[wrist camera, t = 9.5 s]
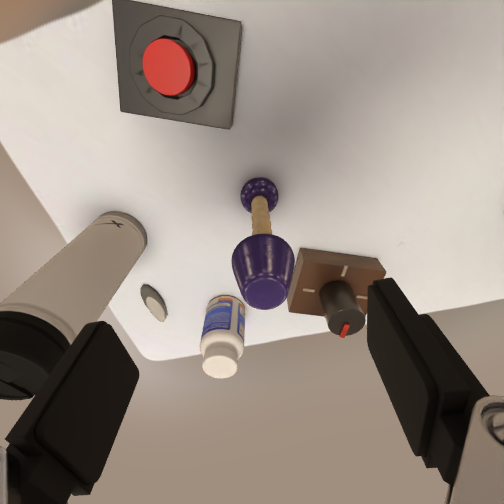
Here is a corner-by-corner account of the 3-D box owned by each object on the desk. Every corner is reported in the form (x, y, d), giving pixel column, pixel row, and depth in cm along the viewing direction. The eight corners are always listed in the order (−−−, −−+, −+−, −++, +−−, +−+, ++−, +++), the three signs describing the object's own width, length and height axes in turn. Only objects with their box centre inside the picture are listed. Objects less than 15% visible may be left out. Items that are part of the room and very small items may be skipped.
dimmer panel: (377, 257, 36) (387, 272, 33) (356, 306, 40) (363, 322, 37) (300, 247, 35) (304, 260, 33) (286, 297, 40) (288, 313, 37)
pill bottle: (200, 313, 41) (186, 372, 33) (219, 288, 39) (209, 345, 30) (233, 328, 43) (227, 388, 34) (252, 305, 40) (252, 363, 32)
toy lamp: (289, 199, 32) (316, 294, 18) (259, 225, 34) (262, 331, 20) (260, 169, 30) (264, 246, 16) (230, 198, 32) (210, 291, 18)
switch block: (242, 26, 24) (240, 16, 21) (231, 126, 28) (228, 132, 25) (122, 3, 24) (100, -11, 20) (129, 109, 28) (111, 113, 24)
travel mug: (118, 198, 32) (-36, 331, 15) (158, 242, 35) (65, 395, 18) (81, 225, 34) (-95, 371, 17) (121, 264, 37) (5, 423, 20)
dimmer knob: (324, 278, 34) (334, 308, 29) (356, 282, 34) (372, 313, 30) (315, 303, 36) (324, 335, 31) (346, 307, 36) (359, 339, 32)
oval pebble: (137, 285, 39) (134, 289, 38) (153, 281, 39) (150, 285, 38) (157, 318, 42) (154, 324, 41) (172, 315, 41) (169, 320, 40)
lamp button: (195, 45, 22) (191, 43, 21) (193, 98, 24) (189, 99, 22) (149, 37, 22) (141, 33, 20) (150, 90, 24) (143, 91, 22)
